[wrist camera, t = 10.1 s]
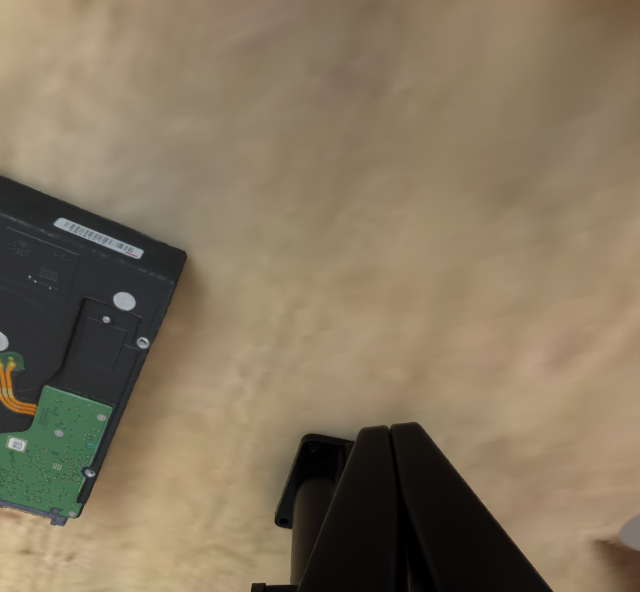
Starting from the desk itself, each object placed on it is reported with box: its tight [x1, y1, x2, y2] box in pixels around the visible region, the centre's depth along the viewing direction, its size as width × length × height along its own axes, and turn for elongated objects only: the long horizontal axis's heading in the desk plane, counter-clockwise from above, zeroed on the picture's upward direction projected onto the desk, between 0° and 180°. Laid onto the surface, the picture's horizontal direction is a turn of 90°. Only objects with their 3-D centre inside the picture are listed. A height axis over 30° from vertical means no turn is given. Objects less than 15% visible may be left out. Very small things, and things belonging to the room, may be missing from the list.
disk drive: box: [0, 175, 187, 526], centre depth 22 cm, size 10×3×15 cm
